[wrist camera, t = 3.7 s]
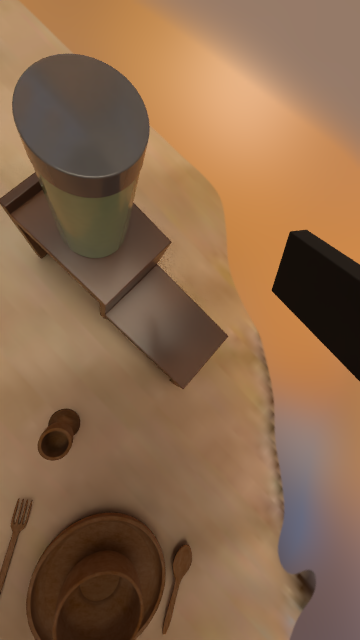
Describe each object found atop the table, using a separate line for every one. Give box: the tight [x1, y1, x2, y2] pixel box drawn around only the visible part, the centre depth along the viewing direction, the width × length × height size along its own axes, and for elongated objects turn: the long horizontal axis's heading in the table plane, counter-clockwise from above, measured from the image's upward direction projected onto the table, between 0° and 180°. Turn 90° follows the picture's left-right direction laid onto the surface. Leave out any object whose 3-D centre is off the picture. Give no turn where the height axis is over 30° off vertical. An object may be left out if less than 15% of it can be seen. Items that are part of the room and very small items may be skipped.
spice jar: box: [12, 54, 149, 258], centre depth 15 cm, size 5×5×10 cm
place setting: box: [0, 409, 192, 640], centre depth 25 cm, size 18×20×6 cm
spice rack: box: [0, 172, 228, 389], centre depth 25 cm, size 19×7×11 cm, turn 47°
